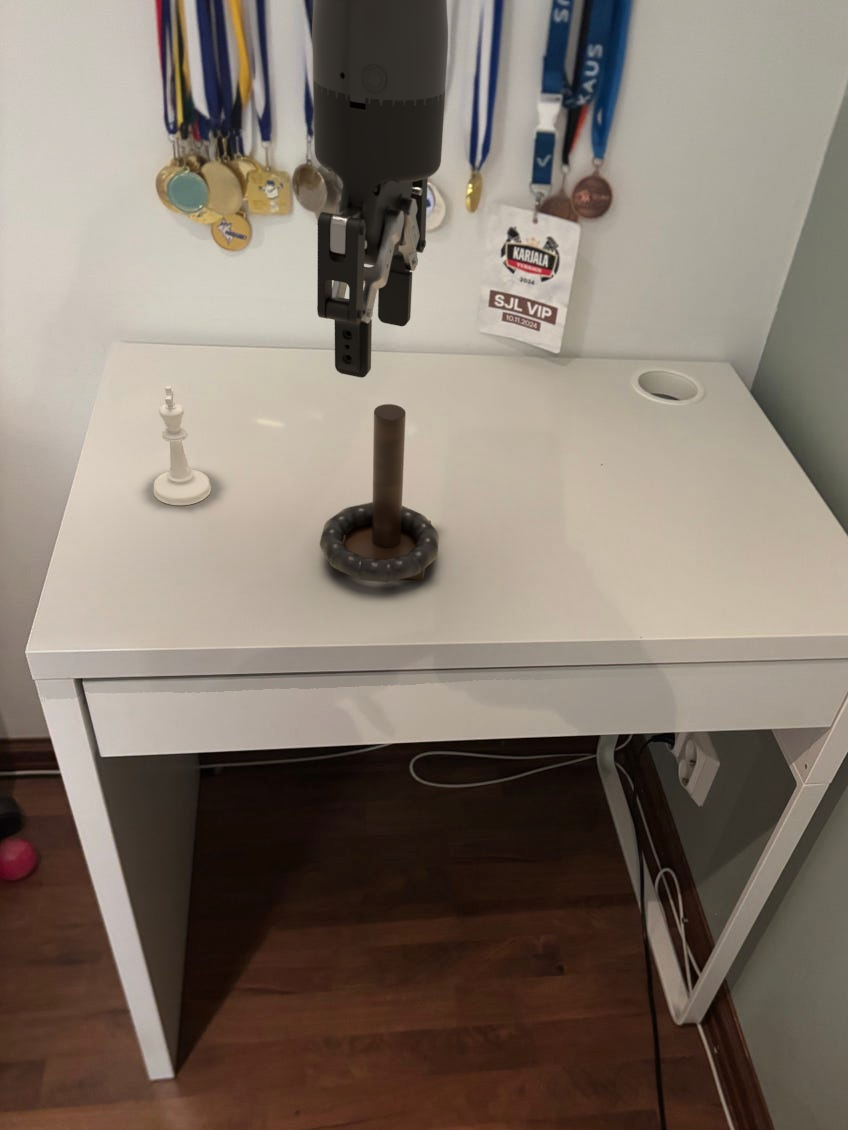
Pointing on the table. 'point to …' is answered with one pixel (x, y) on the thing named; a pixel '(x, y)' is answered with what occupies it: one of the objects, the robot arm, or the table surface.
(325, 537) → the ring
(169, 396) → the chess piece
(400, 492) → the peg stand
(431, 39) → the robot arm
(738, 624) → the table surface
